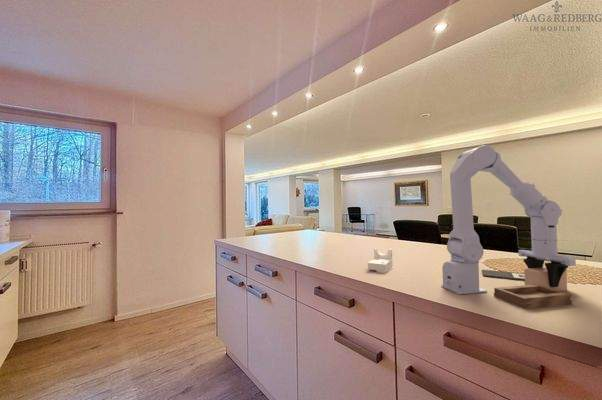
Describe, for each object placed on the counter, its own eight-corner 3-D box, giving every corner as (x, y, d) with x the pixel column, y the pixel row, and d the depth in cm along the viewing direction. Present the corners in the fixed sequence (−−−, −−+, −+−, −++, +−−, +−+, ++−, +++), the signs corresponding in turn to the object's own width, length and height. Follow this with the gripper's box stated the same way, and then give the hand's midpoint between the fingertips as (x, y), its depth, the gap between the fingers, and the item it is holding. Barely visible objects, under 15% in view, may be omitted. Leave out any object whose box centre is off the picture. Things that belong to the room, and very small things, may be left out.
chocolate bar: (481, 269, 101) (543, 275, 91) (481, 271, 101) (544, 278, 91) (483, 275, 93) (551, 282, 83) (483, 277, 93) (551, 285, 83)
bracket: (376, 264, 116) (375, 247, 116) (392, 266, 112) (391, 248, 112) (368, 271, 105) (367, 252, 105) (386, 273, 101) (385, 254, 101)
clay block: (538, 292, 76) (537, 272, 76) (525, 288, 80) (524, 268, 80) (567, 290, 77) (566, 270, 77) (552, 285, 81) (551, 266, 81)
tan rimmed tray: (525, 308, 65) (525, 298, 65) (493, 296, 74) (493, 287, 74) (572, 304, 67) (571, 294, 67) (535, 292, 76) (535, 284, 76)
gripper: (583, 242, 72) (585, 291, 72) (530, 236, 87) (532, 276, 86) (562, 243, 71) (564, 293, 71) (512, 237, 86) (514, 278, 85)
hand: (545, 284), depth 79 cm, fingers closed on clay block, 4 cm apart
